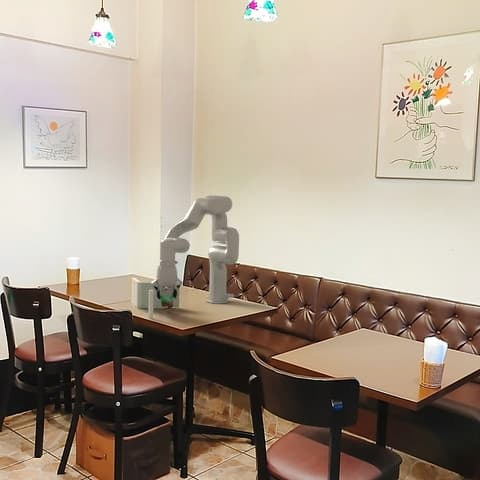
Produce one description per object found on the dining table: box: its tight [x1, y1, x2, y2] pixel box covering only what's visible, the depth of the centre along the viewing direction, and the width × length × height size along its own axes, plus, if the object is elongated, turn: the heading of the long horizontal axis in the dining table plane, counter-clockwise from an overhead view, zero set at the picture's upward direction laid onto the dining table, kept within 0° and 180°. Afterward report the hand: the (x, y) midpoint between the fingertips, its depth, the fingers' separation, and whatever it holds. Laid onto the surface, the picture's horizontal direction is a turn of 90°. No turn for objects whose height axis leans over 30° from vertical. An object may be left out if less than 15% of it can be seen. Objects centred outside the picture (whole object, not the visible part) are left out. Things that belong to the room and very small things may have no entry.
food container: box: [160, 286, 174, 311], centre depth 299 cm, size 12×6×10 cm, turn 1°
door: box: [140, 281, 180, 309], centre depth 312 cm, size 3×20×14 cm, turn 99°
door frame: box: [131, 277, 154, 320], centre depth 305 cm, size 2×36×14 cm, turn 24°
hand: (166, 297), depth 299 cm, fingers closed on food container, 7 cm apart
